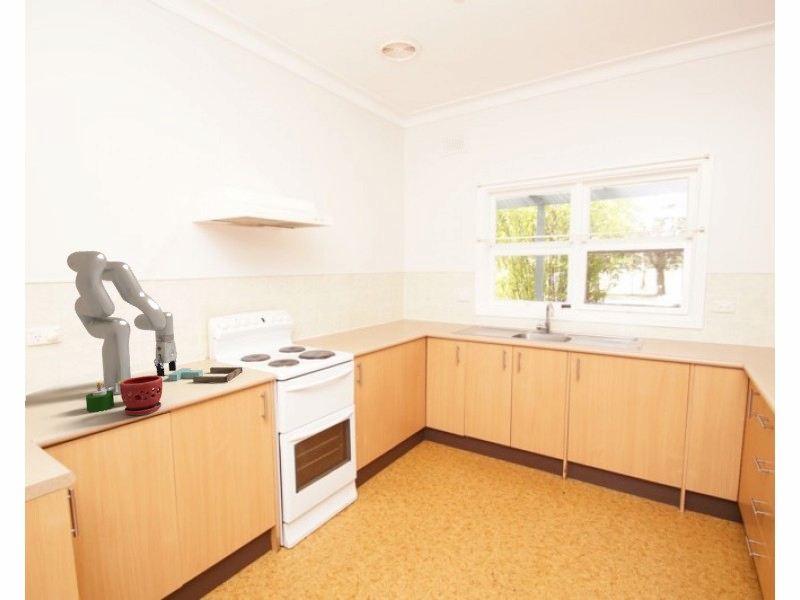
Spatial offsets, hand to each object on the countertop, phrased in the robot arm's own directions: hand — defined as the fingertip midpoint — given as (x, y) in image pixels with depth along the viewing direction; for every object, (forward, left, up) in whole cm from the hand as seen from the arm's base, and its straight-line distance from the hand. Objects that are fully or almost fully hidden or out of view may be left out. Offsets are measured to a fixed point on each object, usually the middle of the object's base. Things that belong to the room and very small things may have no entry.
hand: (166, 373), depth 195 cm
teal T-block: (0, -10, -2) cm, 10 cm away
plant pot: (-45, -17, -2) cm, 48 cm away
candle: (-42, +1, -2) cm, 42 cm away
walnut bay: (0, -24, -2) cm, 24 cm away
